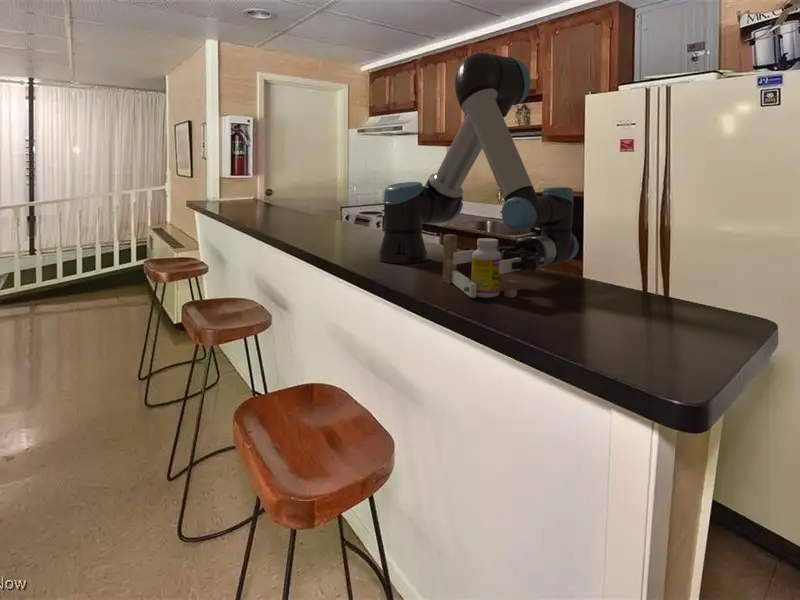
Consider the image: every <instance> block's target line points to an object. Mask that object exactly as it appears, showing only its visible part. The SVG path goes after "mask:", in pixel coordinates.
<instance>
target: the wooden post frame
mask: <svg viewBox="0 0 800 600" xmlns="http://www.w3.org/2000/svg"><path fill="white" fill-rule="evenodd" d="M442 244H443V247H442V250H443V251H442V283H445V284H449V285H450V284H453V283H452V270H457V264H456V265H455V264H453V253H455V252H458V235H457V234H450V233H448V234H444V235H443V243H442ZM503 290H504V291H503V297H506V298H510V299H511V298H515V297H517V294H518V292H517V291H518V281H517V280H511V279H509V280H505V281H504V289H503Z"/></svg>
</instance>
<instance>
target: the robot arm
mask: <svg viewBox="0 0 800 600" xmlns="http://www.w3.org/2000/svg"><path fill="white" fill-rule="evenodd" d="M455 74H456V75H455V80H454V91H455V95H456V99H457V102H458V105H459V107H460V109H461V111H462V113H464V114H466V115H465V117H464V119H463V121H462V122H461V124H460V126H459V129H458V131H457V133H456V134H455V137H454V139H453V140H452V143H451V145H450V147H449V148H448V150H447V153H446V155H445V156H444V158H443V161H442V163H441V165H440V166H439V168H438V170H437V172H436V173H432V174H431V175H429V177H428V179H427V181H426V183H425V184H424V185H423V183H421V181H407V182H398V183H392V184H390V185H387V186H386V187H385V189H384V191H383V192H384V194H383V195H384V196H383V197H384V198H383V213H384V214H383V215H384V217H383V218H384V220H383V221H384V223H383V224H384V225H383V228H384V231H383V232H384V233H383V238H382V242H381V245H380V250H379V251H378V261H379V262H380V261H381V262H384V263H387V264H388V263H390V264H416V263H417V264H418V263H423V262H426V261H427V260H428V251H427V250H426V246H425V244H426V243H425V241H424V238H423V225H424V224H440V223H441V224H442V223H446V222H450V221H452V220H455V219H456V218H457V217H458V215H459V214H460V213H461V212H462V210H463V205H464V203H463V201H464V197H463V193H464V190H463V186H462V185H463V184H464V181H465V180H466V179H467V177H468V175H469V173H470V171H471V170H472V168H473V165H474V164H475V162H476V160H477V158H478V157H479V155H480V153H481V151H483V153H484V155H485V158H486V161H487V162H488V165H489V167H490V169H491V170H490V171H491V172H492V174H493V176H494V179H495V182H496V184H497V186H498V188H499V191H500V193H501V195H502V198H503V200H504V204H503V205H502V208H501V218H502V221H503V223H504V225H505V226H507V227H508V228H510V229H512V230H529V229H534V228H539V227H541V230H540V231H541V235H539V236H532V237H526V238H522V239H519V240H518V241H517V242H516V243H514V245H513V246H511V245H510V246H508V247H503V246H501V245H500V246H497V250H498V251H499V252H500V253H501V255H502V257H503V259H502V258H501V261H499V273H500V274H501V275H502V274H503V275H504V274H507V273H514V272H516V271H521V270H523V271H527V270H530V271H531V272H534V271H537V269H541V268H542V267H543V266H548V265H554V264H563V263H565V262H568V261H570V260H572V259H574V258H575V257H576V256H577V254H578V252H579V246H580V245H579V241H578V240H577V239H578V238H577V237H576V236H575V235H574V234H573V230H572V228H573V217H574V215H573V213H574V203H575V202H574V190H573V188H571V187H566V186H564V187H562V186H561V187H560V186H558V187H553V186H552V187H545V188H543V191H542V196H541V195H537V192H536V190H535V188H534V185H533V183H532V182H531V179H530V177H529V174H528V172H527V170H526V168H525V165H524V162H523V160H522V158H521V156H520V153H519V151H518V149H517V147H516V144H515V142H514V139H513V137H512V135H511V132H510V131H509V127H508V126H507V124H506V121H505V118H506V117H507V116H508V113H509V112H510V110H511V108H512V106H516V105H519V104H521V103H522V102H523V101H524V100H526V98H527V96H528V95H529V91H530V88H531V82H532V81H531V77H530V70H529V69H528V67H527V65H526V64H525V63H524V62H523V61H521V60H520V59H517V58H514V57H512V56H502V55H499V54H498V55H496V54H492V53H489V52H476V53H472V54H471V55H468V56H467V57H466V58H465V59H464V60H463V61H462V62H461V63H460V65H459V67H458V68H457V70H456V73H455ZM477 249H478V247H466V248H465V250H462V251H457V252H455V253H453V264H455V265H456V266H457V265H461V264H466V263H469V264H472V254H473V252H474V251H475V250H477Z"/></svg>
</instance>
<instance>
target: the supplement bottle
mask: <svg viewBox="0 0 800 600" xmlns="http://www.w3.org/2000/svg"><path fill="white" fill-rule="evenodd" d="M498 245H499V239H498V238H497V239H496V238H491V237H490V238H488V237H484V238H482V237H479V238H477V241H476V246H477V248H478V249H477V250H475V251H474V252H473V254H472V263H471V271H470V272H471V274H470V277H471V278H470V280H471V281H473V282H474V283H475V284H477V287H476V298H477V297H478V298H487V299H490V298H496V297H498V296H499V295H500V292H501V291H500V289H501V275H502V274H500V273H499V261H501V259H502V257H503V255H501V253H500V252H499V251H498V250H497V247H498Z"/></svg>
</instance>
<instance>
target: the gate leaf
mask: <svg viewBox="0 0 800 600" xmlns="http://www.w3.org/2000/svg"><path fill="white" fill-rule="evenodd" d="M451 284H453V285H455V286H456V287H457V288H458V289H460V290H461V291H462V292H463V293H464V294H466V295H467V296H468V297H470V298H475V299H476V298H477V296H476V287H477V284H475V283H474V282H473V281H471V278H469V277H467V276H466V275H464V274H462V273H461V272H460V271H458V270H457V269H456V270H452V283H451Z"/></svg>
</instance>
